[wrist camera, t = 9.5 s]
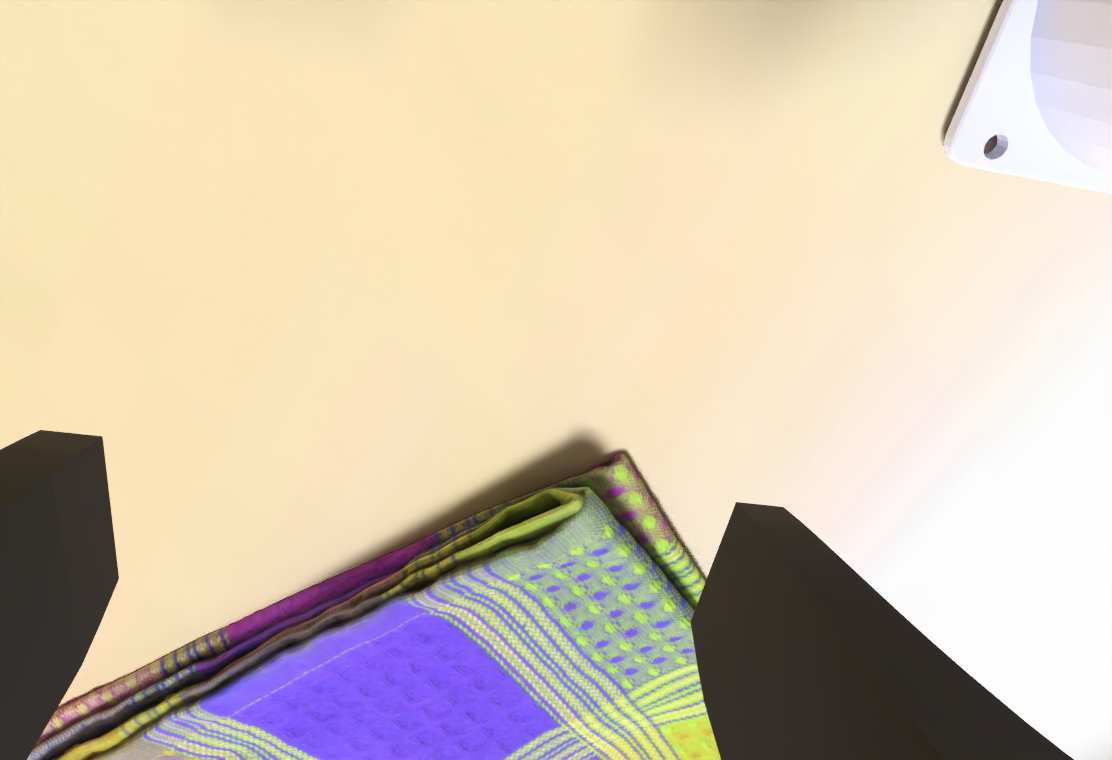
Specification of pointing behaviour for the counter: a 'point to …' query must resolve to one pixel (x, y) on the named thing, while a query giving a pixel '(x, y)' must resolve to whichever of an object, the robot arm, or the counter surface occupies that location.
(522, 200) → the counter surface
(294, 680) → the dish towel
